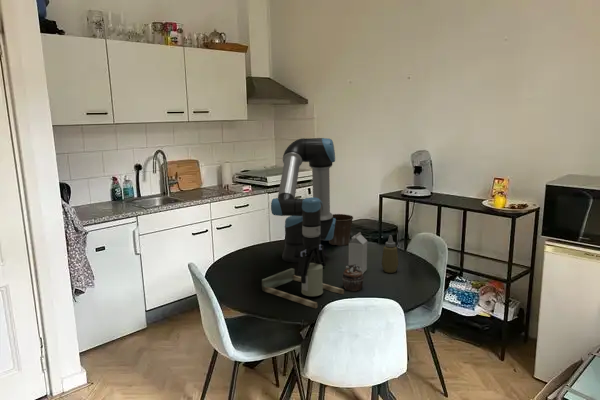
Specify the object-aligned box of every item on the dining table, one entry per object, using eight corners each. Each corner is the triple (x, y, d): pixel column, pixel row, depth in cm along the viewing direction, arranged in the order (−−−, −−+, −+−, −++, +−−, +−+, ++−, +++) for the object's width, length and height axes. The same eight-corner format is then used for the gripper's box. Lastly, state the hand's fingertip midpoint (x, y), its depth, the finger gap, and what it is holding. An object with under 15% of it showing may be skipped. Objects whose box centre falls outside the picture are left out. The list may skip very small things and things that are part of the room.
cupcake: (337, 286, 201) (337, 264, 199) (355, 282, 206) (355, 261, 204) (350, 293, 193) (350, 271, 191) (368, 288, 198) (368, 267, 196)
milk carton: (366, 270, 222) (367, 232, 218) (362, 274, 215) (363, 236, 212) (353, 268, 225) (353, 231, 221) (348, 272, 218) (348, 234, 215)
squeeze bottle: (398, 274, 215) (399, 237, 212) (381, 273, 217) (381, 237, 213) (398, 268, 223) (399, 233, 220) (381, 267, 225) (382, 232, 221)
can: (300, 288, 196) (300, 262, 194) (321, 287, 197) (321, 261, 194) (302, 296, 187) (302, 269, 184) (324, 295, 188) (324, 268, 185)
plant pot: (358, 244, 266) (358, 217, 263) (336, 248, 258) (336, 221, 255) (342, 238, 280) (342, 212, 277) (320, 242, 272) (320, 216, 269)
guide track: (262, 290, 197) (261, 279, 197) (291, 278, 212) (291, 268, 211) (315, 308, 178) (315, 296, 177) (343, 293, 193) (343, 282, 192)
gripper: (301, 242, 176) (302, 296, 181) (334, 231, 193) (334, 281, 197) (287, 239, 181) (288, 292, 185) (320, 228, 197) (320, 277, 202)
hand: (312, 286), depth 191 cm, fingers closed on can, 9 cm apart
